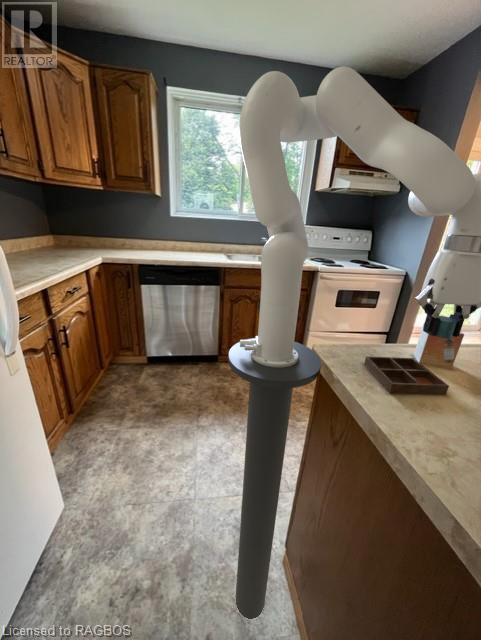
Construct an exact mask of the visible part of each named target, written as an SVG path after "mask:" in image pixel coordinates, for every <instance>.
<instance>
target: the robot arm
mask: <svg viewBox="0 0 481 640" xmlns="http://www.w3.org/2000/svg"><path fill="white" fill-rule="evenodd" d="M243 101H244V102H243V104H242V107H241V109H240V114H239V123H238V124H239V125H238V135H239V145H240V151H241V155H242V159H243V164H244V168H245V172H246V177H247V183H248V187H249V192H250V195H251V200H252V206H253V210H254V214H255V217H256V219H257V221H258V222H259V223H260V224H261V225H262V226H264V227H266V229H267V234H268V240H267V241H266V243H265V244H264V246H263V247H262V250H261V251H262V252H261V256H260V271H261V274H260V275H261V281H260V283H261V284H260V300H259V301H260V303H259V314H258V317H259V318H258V327H257V335H255V338H256V339H252V341H250V340H247V339H240V340H239V342H240V347H245V350H249V351H250V350H251V357H252V358H253V359H254V360H255V361H256V362H258V363H260V364H262V365H265V366H269V367H276V368H282V367H289V366H292V365H294V364H295V363H296V362H297V361H298V353H297V352H296V350H294V349H293V347H294V342H295V338H296V330H297V322H298V315H299V314H298V313H299V306H300V298H301V289H302V278H303V269H304V264H305V261H306V260H307V258H308V255H309V242H308V236H307V233H306V227H305V222H304V217H303V216H304V215H303V213H302V206H301V203H300V199H299V198H298V196H297V194H296V192H295V191H293V190H292V188H291V185H290V181H289V176H288V171H287V168H286V159H285V155H284V152H283V148H282V143H297V142H307V141H316V140H317V141H319V140H325V139H332V138H336V137H337V138H338V137H339V139H340V140H341V141H342V142H343V143H344V144H345V145H346V146H348V148H349V149H350V150H351V151H352V152H353V153H354V154H355V155H356V156H357V158H359V159H360V160H361V162H363V163H364V164H365V165H368V166H370V167H372V168H376V169H380V170H383V171H385V172H387V173H389V174H390V175H392V176H393V177H394V178H396V179H397V180H399V182H401V183H402V184H403V185H404V186H405V187H406V188H407V189H408V190H409V191H410V192H409V194H408V198H407V203H408V207H409V209H410V210H411V212H413V213H414V214H415V215H417V216H420V217H425V218H429V217H439V216H452V217H451V219H450V220H451V221H450V223H449V228H448V230H447V235H446V237H445V241H444V244H443V247H442V250H441V251H437V253H436V254H435V256H434V258H433V260H432V262H431V264H430V266H429V268H428V270H427V273H426V276H425V278H424V281H423V283H422V288H421V291H420V293H419V294H418V295H417V296H416V297H415V299H414V301H415V303H417V304H418V305H419V306H420V307H421V308H422V309H423V311H424V314H425V315H426V317H425V320H424V322H423V324H424V328H423V331H424V332H426V333H427V334H429V335H431V336H435V335H436V333H437V330H438V326H439V323H440V318H438V316H441V313H442V311H443V309H444V307H445V305H454V306H453V314H451V313H450V314H449V316H448V317H450V318H453V319H455V320H457V324H456V327H455V330H454V333H453V336H455V337H458V336H459V334H460V331H461V332H462V328H463V325H464V323H465V320H468V319H469V317H470V315H472V314H473V313H474V312H476V311H477V310H479V309H481V172H479V173H473V171H472V170H471V168H470V167H469V166H468V165H467V163H466V162H465V161H463V159H461V157H460V156H459V155H458V154H457V153H456V152H455V151H453V150H452V148H451V147H450V146H448V145H447V143H445V142H444V141H443V140H442V139H440V138H439V137H438V136H436V135H435V134H433V133H431V132H429V131H427V130H426V129H424V128H422V127H420V126H418V125H417V124H415V123H414V122H412V121H409V120H407V119H406V118H404V117H403V116H402V115H400V113H398V111H396V110H395V108H393V106H391V104H390V103H389V102H387V100H385V98H384V97H382V95H381V94H380V93H378V92H377V90H376V89H375V88H373V86H371V84H370V83H368V81H367V80H366V79H365V78H364V77H363V76H362V75H360V73H359V72H357V71H356V70H355V69H353V68H352V67H349V66H339V67H336V68H333V69H332V70H331V71H329V73H327V74H326V75H325V77H324V78H323V79H322V81H321V83H320V85H319V87H318V89H317V92H316V94H315V95H307V96H302V97H300V94H299V91H298V88H297V86H296V84H295V83H294V81H293V80H292V78H290V77H289V76H288V75H287V74H286V73H284V72H281V71H278V70H273V71H268V72H265V73H264V74H262V75H261V76H260V77H259V78H258V79H257V80H256V81H255V82H254V83H253V85H252V86H251V87H250V89H249V91H248V93H247V94H246V96H245V99H244V100H243ZM428 300H429V301H428Z"/></svg>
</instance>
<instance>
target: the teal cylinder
mask: <svg viewBox="0 0 481 640" xmlns="http://www.w3.org/2000/svg"><path fill="white" fill-rule="evenodd" d="M438 318H440V323H439V326H438V330H437V333H436V335H435V336H436V337H440V338H452V336H453V333H454V330H455V327H456V324H457V320H455V319H453V318H450V317H449V316H447V315H446V316H445V315H439V316H438Z"/></svg>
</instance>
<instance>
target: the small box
mask: <svg viewBox="0 0 481 640" xmlns="http://www.w3.org/2000/svg"><path fill="white" fill-rule="evenodd" d="M423 328H424V323H423V324H422V327H421V330H420V334H419V338H418V340H417V344H416V346H415V349H414V353H413V356H414V359H415V360H417V361H418V362H419V363H420V364H422V365H425V366H431V367H436V368H441V369H445V370H452V369H453V366H454V364H455V361H456V358H457V356H458V353H459V351H460V347H461V345H462V342H463V340H464V337H465V334H464V333H463V332H462V330H461V331H460V334H459V336H458V337H455V336H452V338H440V337H436V336H431V335H429V334H427V333H426V332H424V331H423Z"/></svg>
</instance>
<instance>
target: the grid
mask: <svg viewBox="0 0 481 640" xmlns="http://www.w3.org/2000/svg"><path fill="white" fill-rule="evenodd" d="M363 365H364V366H365V368H366V369H367V370H368V371H369V372H370V374H372V375H373V377H374V378H376V380H377V381H378V382H379V383H380V384H381V385H382V386H383V388H384V389H385V390H386V391H387V392H388V393H389V394H394V395H395V394H397V395H399V394H401V395H425V396H426V395H428V396H429V395H432V396H446V395H447V393H448V390H449V388H450V385H449V384H447V382H445V381H444V380H442V379H441V378H440V377H439V376H437V375H436V374H435V373H434V372H432V371H431V370H429V369H428V368H427V367H426V366H424V364H420V363H419V362H418V361H417V360H416V358H415V357H394V356H393V357H389V356H365V358H364V363H363Z"/></svg>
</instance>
